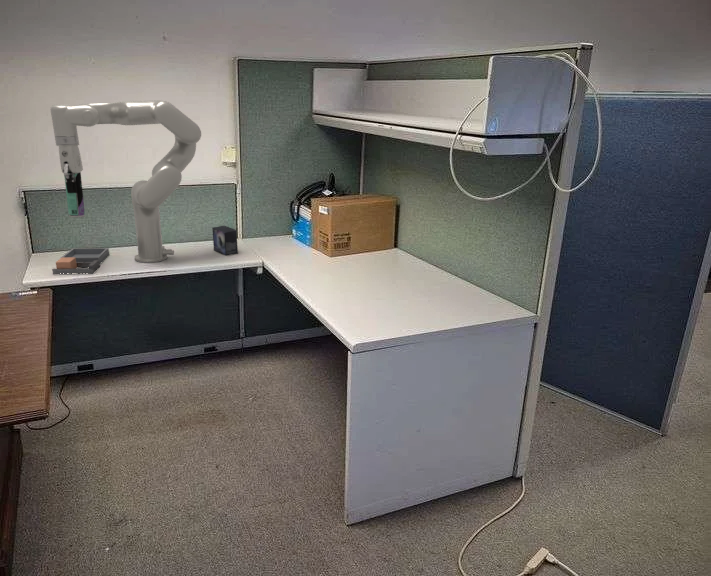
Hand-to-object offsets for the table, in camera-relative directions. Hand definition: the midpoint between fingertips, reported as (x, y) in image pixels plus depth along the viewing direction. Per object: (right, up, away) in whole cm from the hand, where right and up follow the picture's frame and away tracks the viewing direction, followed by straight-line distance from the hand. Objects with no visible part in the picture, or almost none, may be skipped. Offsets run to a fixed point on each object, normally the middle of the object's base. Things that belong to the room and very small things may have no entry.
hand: (74, 190), depth 205 cm
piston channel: (-1, -29, +4) cm, 30 cm away
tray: (-4, -25, +17) cm, 30 cm away
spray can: (-1, -9, +3) cm, 10 cm away
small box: (+48, -21, +34) cm, 62 cm away
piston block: (-5, -30, +4) cm, 30 cm away
